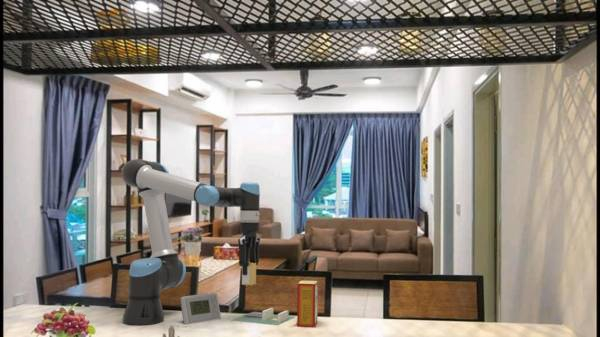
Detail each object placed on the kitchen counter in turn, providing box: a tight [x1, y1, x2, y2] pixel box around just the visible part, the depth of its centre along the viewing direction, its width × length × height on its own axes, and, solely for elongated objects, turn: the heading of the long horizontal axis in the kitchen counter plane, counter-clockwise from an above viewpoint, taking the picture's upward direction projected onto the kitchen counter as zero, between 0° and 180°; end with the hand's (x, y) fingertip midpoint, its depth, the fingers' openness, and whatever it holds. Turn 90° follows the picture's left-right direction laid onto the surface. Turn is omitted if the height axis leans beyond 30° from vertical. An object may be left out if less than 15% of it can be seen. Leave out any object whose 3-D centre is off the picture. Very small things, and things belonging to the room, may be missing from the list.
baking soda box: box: [296, 279, 319, 329], centre depth 184 cm, size 10×6×16 cm
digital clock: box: [179, 292, 222, 328], centre depth 183 cm, size 16×9×11 cm, turn 122°
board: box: [230, 307, 296, 326], centre depth 187 cm, size 20×17×5 cm
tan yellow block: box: [241, 261, 257, 286], centre depth 187 cm, size 4×4×8 cm
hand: (248, 282), depth 187 cm, fingers closed on tan yellow block, 4 cm apart
